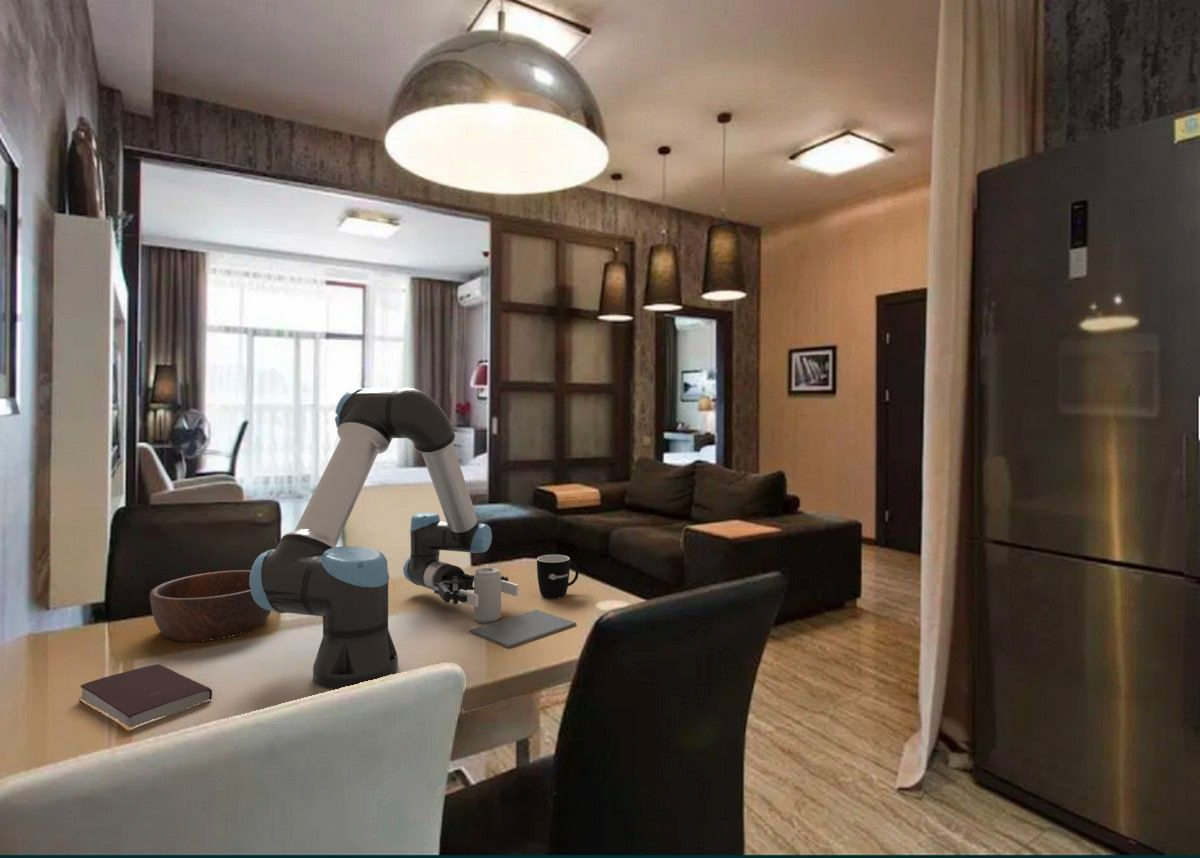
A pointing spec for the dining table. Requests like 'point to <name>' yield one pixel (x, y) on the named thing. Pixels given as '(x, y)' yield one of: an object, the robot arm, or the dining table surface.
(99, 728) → the dining table surface
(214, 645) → the dining table surface
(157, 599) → the wooden bowl
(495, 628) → the mat
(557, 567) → the mug
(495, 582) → the beverage can
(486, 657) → the dining table surface
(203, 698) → the book
